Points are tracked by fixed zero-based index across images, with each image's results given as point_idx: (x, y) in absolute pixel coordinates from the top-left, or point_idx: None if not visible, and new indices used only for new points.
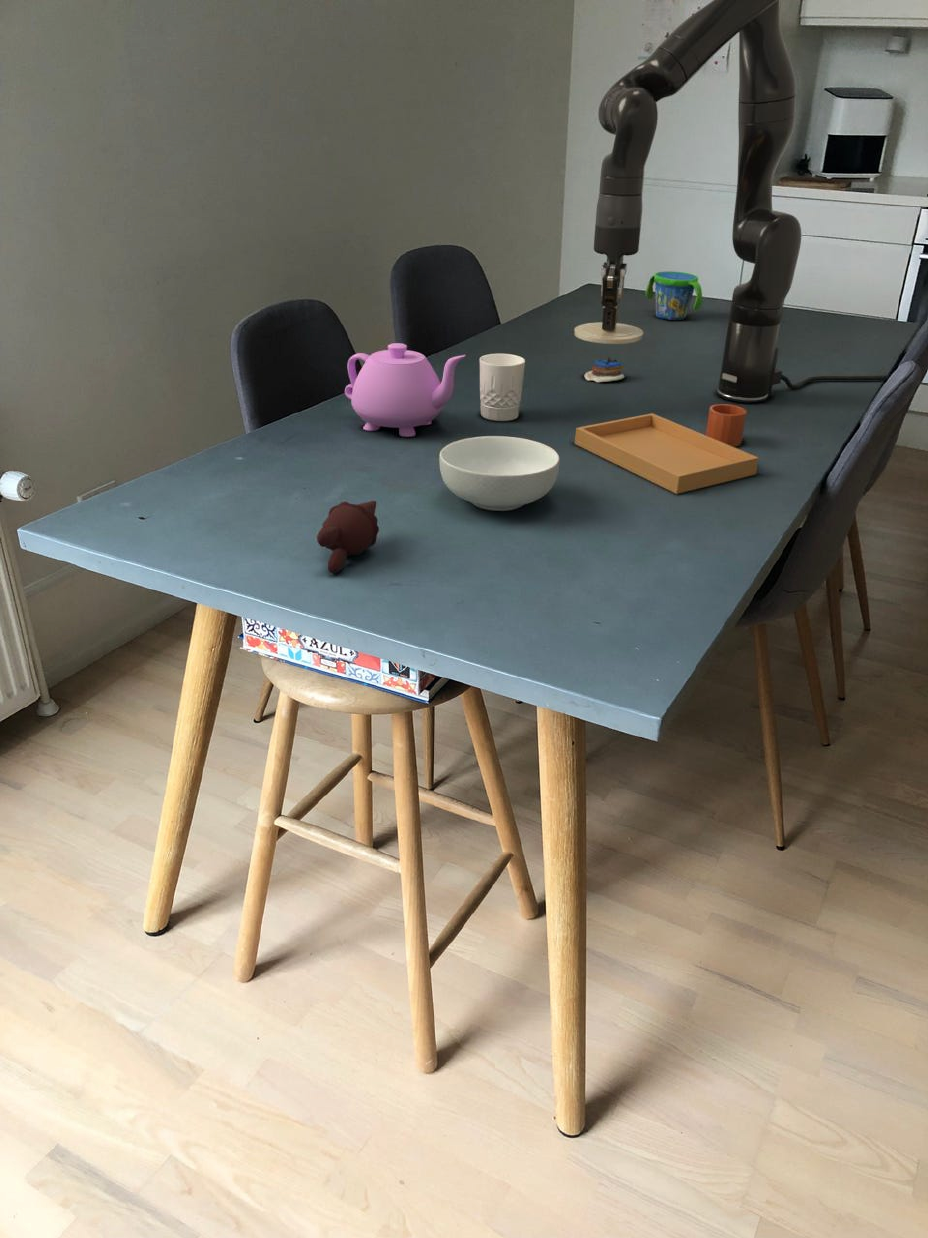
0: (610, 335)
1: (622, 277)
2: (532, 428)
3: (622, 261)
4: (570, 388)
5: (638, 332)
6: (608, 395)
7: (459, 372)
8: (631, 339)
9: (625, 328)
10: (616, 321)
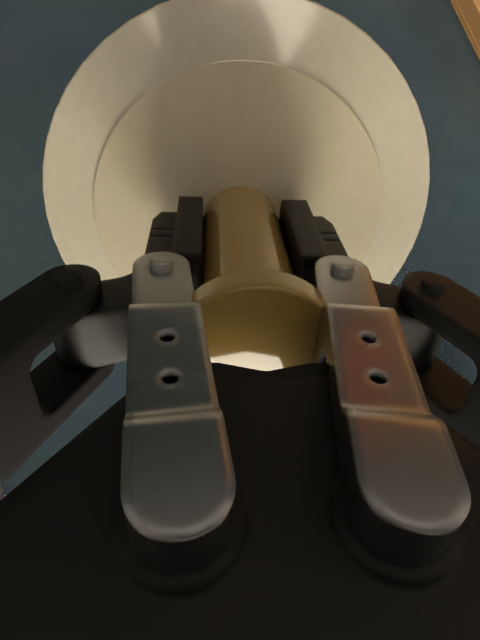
0: (359, 206)
1: (433, 416)
2: (407, 273)
3: (77, 591)
4: (38, 223)
5: (244, 30)
6: (51, 98)
7: (48, 445)
8: (400, 74)
9: (175, 129)
10: (248, 207)
